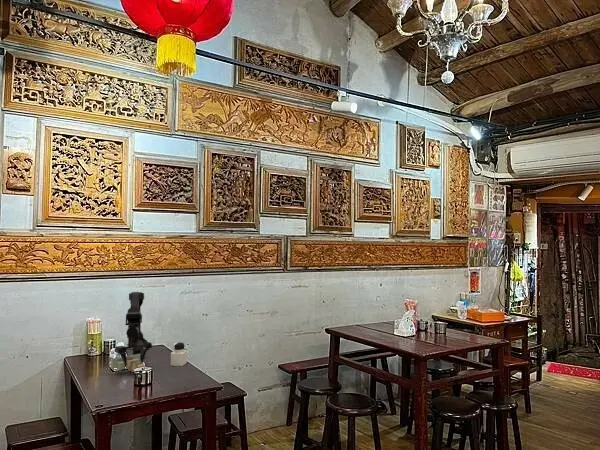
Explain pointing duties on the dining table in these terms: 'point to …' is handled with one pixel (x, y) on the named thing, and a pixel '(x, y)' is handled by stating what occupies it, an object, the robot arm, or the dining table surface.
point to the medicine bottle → (178, 355)
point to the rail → (133, 364)
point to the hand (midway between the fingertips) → (133, 363)
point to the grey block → (119, 362)
